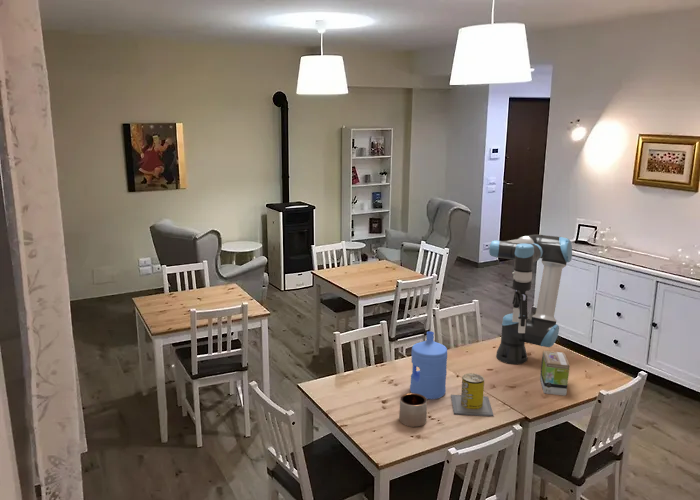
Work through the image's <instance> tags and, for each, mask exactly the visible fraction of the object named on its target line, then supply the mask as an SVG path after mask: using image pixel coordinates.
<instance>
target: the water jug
mask: <svg viewBox="0 0 700 500" xmlns="http://www.w3.org/2000/svg"><path fill="white" fill-rule="evenodd" d="M425 337H426V340H424V341H420V342H417V343H415V344H413V345H412V346H411V364H412V367H411V368H412V370H411V375H410V385H409V387H410V388H409V390H410V391H409V392H410V393H416V394H420V395H423V396H424V397H426V399H427V400H437V399H440V398H442V397H443V396H445V394H446V388H447V387H446V384H447V383H446V381H447V363H448V348H447V347H446V346H445V345H444V344H443V343H439V342H437V341H435V339H434V337H435V336H434V331H429V330H428V331H427V332H426V336H425ZM417 368H418V369H419V370H417Z"/></svg>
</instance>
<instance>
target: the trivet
mask: <svg viewBox="0 0 700 500" xmlns="http://www.w3.org/2000/svg"><path fill="white" fill-rule="evenodd" d="M450 399H451V404H452V406H451V407H452V412H453V415H457V416H473V415H474V416H475V417H491V416H493V417H494V415H495V414H494V411H493V408H492V405H491V402H490V398H489V396H486V395H483V406H482V407H481V408H479V409H468V408H465V407H463V406H462V405H461V394H450Z"/></svg>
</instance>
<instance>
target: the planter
mask: <svg viewBox="0 0 700 500" xmlns="http://www.w3.org/2000/svg"><path fill="white" fill-rule="evenodd" d="M427 408H428V399H426V397H424V396H423V395H420V394H416V393H411V392H410V393H405V394H402V395H401V396H400V399H399V412H398V415H399V416H398V417H399V418H398V419H399V421H400V423H401V424H402V425H404V426H407V427H410V428H418V427H422V426H423V425H425V424H426V423H427V414H428V412H427V410H428V409H427Z"/></svg>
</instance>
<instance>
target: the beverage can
mask: <svg viewBox="0 0 700 500" xmlns="http://www.w3.org/2000/svg"><path fill="white" fill-rule="evenodd" d="M461 379H462V382H461V394H460V395H461V405H462V406H463V407H465V408H468V409H479V408H481V407H482V406H483V396H484V390H485V388H484V387H485V377H484V376H483V375H481V374H478V373H472V372H471V373H470V372H469V373H465V374H464V373H463V375H462V378H461Z"/></svg>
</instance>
